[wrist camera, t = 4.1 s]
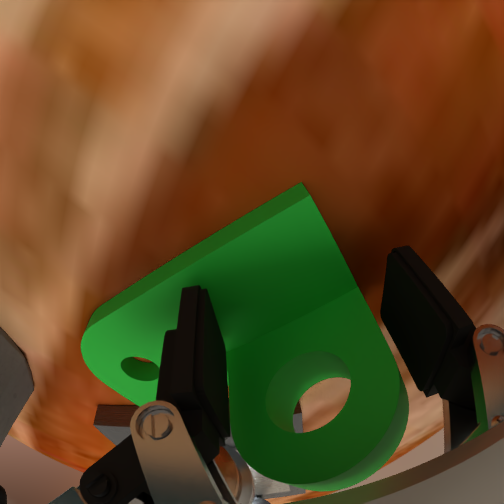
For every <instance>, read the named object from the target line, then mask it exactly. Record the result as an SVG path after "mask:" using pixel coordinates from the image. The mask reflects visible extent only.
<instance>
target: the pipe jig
mask: <svg viewBox="0 0 504 504" xmlns="http://www.w3.org/2000/svg"><path fill="white" fill-rule="evenodd" d="M138 408H140V407H139V406H111V405H98V407H97V411H96V415H95V420H94V424H93V425H94V426H95V427H96V428H97V429H98V430H99V431H100V432H101V433H103V434H104V435H105V436H106V437H107V438H108V439H109V440H111V441H112V442H113V443H114V444H115V445H116V446H117V445H118V444H119V443H120V442H122V441H123V440H124V439H125V438H127V437H128V436H129V435H130V434H131V430H130V423H131V418H132V416H133V415H134V413H135V411H136V410H137V409H138ZM229 417H230V405H229ZM293 427H294V430H295V432H296V433H303V427H302V412H301V407H300V402H299V401H298V402H297V404H296V407H295V409H294V413H293ZM219 452H220V453H219V454H218V455H217V456H216V457H215V458H214V460H215V462H216V464H217V466H218V468H219V470H220V472H221V474H222V476H223V477H224V479H225V481H226V483H227V485H228V487H229V488H230V490H231V492H232V494H233V495H234V497H235V499H236V501H237V502H238V504H270V503H269V502H268V501H266V500H264V499H268V498H277V497H284V496H290V495H297V494H303V493H305V489H302V488H299V487H295V486H292V485H288V484H285V483H281V482H278V481H275V480H272V479H270V478H267V477H265V476H263V475H261V474H260V473H258V472H257V471H255V470H254V469H253V468H251V467H250V466H249V465H248V464H247V463H246V462H245V460H244V459H243V458H242V457H241V455H240V454H239V452H238V450H237V448H236V446H235V443H234V441H233V438H232V433H231V425H230V437H227V438H225V446H221V447H219Z"/></svg>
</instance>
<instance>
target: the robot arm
mask: <svg viewBox="0 0 504 504" xmlns="http://www.w3.org/2000/svg"><path fill="white" fill-rule="evenodd" d="M380 313H381V318H382V321H383V323H384V324H385V326H386V328H387V330H388V332H389V334H390V335H391V337H392V339H393V341H394V343H395V345H396V347H397V349H398V350H399V352H400V354H401V356H402V358H403V360H404V362H405V364H406V366H407V368H408V370H409V372H410V374H411V376H412V378H413V380H414V382H415V384H416V386H417V388H418V389H419V390H420V391H423V392H424V394H425V396H426V398H427V397H429V396H432V395H434V394H437V393H439V395H440V397H441V398H442V401H443V417H444V448H445V449H444V454H443V455H441V456H439V457H437V458H435V459H432V460H430V461H428V462H426V463H423V464H421V465H419V466H416V467H414V468H412V469H409V470H406V471H404V472H401V473H398V474H396V475H393V476H390V477H388V478H385V479H382V480H379V481H376V482H373V483H369V484H367V485H363V486H360V487H357V488H353V489H349V490H345V491H342V492H338V493H334V494H330V495H326V496H321V497H317V498H312V499H307V500H302V501H296V502H291V503H285V504H504V330H503V329H502V328H500V327H498V326H496V325H492V324H485V325H481V326H480V327H478V328H477V329H476V327H475V326H474V325H473V322H472V320H471V319H470V318H469V316H468V315H467V314H466V313H465V311H464V310H463V309H462V307H461V306H460V305H459V304H458V302H457V301H456V300H455V299H454V297H453V296H452V295H451V294H450V292H449V291H448V290H447V289H446V287H445V286H444V285H443V284H442V283H441V281H440V280H439V279H438V278H437V277H436V276H435V274H434V273H433V272H432V271H431V270H430V269H429V267H428V266H427V265H426V264H425V263H424V262H423V261H422V259H421V258H420V257H419V256H418V255H417V254H416V253H415V252H414V250H413V249H412V248H411V247H410V246H402V247H397V248H394V249H392V252H391V253H390V254H388V257H387V266H386V275H385V283H384V290H383V297H382V304H381V312H380ZM130 430H131V434H130V435H129V436H128V437H127V438H125V439H124V440H123V441H122V442H120V443H119V444H118V445H117V446H116V447H114V448H113V449H112V450H111V451H109V452H108V453H107V454H106V455H104V456H103V457H102V458H101V459H99V460H98V461H97V462H96V463H94V464H93V465H92V466H91V467H89V468H88V469H87V470H86V471H85V472H84V473H83V475H82V477H81V479H80V486H78V487H77V488H75V487H71V488H70V489H69V490H67V491H66V492H64V493H63V494H62V495H60V496H59V497H57V498H56V499H54V500H53V501H51V502H50V503H49V504H238V502H237V501H236V499H235V497H234V495H233V494H232V492H231V490H230V488H229V487H228V485H227V483H226V481H225V479H224V477H223V476H222V474H221V472H220V470H219V468H218V466H217V464H216V462H215V460H214V458H215V457H216V456H217V455H218V454H219V453H220V452H219V447H221V446H225V438H227V437H230V417H229V399H228V381H227V360H226V348H225V343H224V340H223V337H222V334H221V331H220V328H219V325H218V322H217V319H216V316H215V312H214V309H213V306H212V303H211V300H210V297H209V293H208V290H207V289H206V288H205V289H201V287H200V285H196V286H190V287H184V288H182V292H181V299H180V306H179V314H178V322H177V329H173V330H167V331H166V332H165V335H164V342H163V348H162V355H161V362H160V370H159V377H158V385H157V393H156V401H152V402H148V403H146V404H144V405H142V406H141V407H140V408H138V409H137V410H136V411H135V413H134V415H133V416H132V418H131V423H130Z"/></svg>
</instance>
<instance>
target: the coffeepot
mask: <svg viewBox="0 0 504 504" xmlns="http://www.w3.org/2000/svg"><path fill="white" fill-rule="evenodd" d="M33 391H34V386H33V380H32V374H31V370H30V367H29V365H28V362H27V361H26V359H25V357H24V356H23V354H22V353H21V351H20V350H19V348H18V347H17V346H16V344H15V343H14V342H13V341H12V340H11V338H10V337H9V336H8V335H7V334H6V333H5V332H4V331H3V330H2V329H1V328H0V447H1V445H2V443H3V441H4V439H5V437H6V436H7V434H8V432H9V430H10V429H11V427H12V425H13V423H14V422H15V420H16V418H17V417H18V415H19V413H20V412H21V410H22V408H23V407H24V405H25V403H26V402H27V400H28V399H29V397H30V395H31V394H32V392H33ZM0 504H7V495H6V492H5V489H4V488H3V487H2V486H0Z"/></svg>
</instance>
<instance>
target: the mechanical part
mask: <svg viewBox="0 0 504 504" xmlns="http://www.w3.org/2000/svg"><path fill="white" fill-rule="evenodd" d="M196 285H200V287H201V289H205V288H206V289H207V290H208V293H209V297H210V300H211V303H212V306H213V309H214V312H215V316H216V319H217V322H218V325H219V328H220V331H221V334H222V337H223V340H224V343H225V348H226V360H227V381H228V385H229V405H230V425H231V433H232V438H233V441H234V443H235V446H236V448H237V450H238V452H239V454H240V455H241V457H242V458H243V459H244V460H245V462H246V463H247V464H248V465H249V466H250V467H251V468H253V469H254V470H255V471H257V472H258V473H260V474H261V475H263V476H265V477H267V478H270V479H272V480H275V481H278V482H281V483H285V484H288V485H292V486H295V487H299V488H302V489H307V490H312V491H334V490H340V489H343V488H347V487H350V486H353V485H355V484H357V483H359V482H361V481H363V480H365V479H366V478H368V477H369V476H371V475H372V474H374V473H375V472H376V471H377V470H379V469H380V468H381V467H382V466H383V465H384V464H385V463H386V462H387V461H388V460H389V458H390V457H391V456H392V455H393V453H394V452H395V450H396V449H397V447H398V445H399V443H400V441H401V439H402V437H403V435H404V432H405V429H406V425H407V421H408V414H409V401H408V395H407V390H406V387H405V385H404V382H403V379H402V377H401V374H400V371H399V369H398V366H397V364H396V361H395V359H394V356H393V354H392V352H391V350H390V348H389V346H388V344H387V342H386V340H385V338H384V336H383V334H382V332H381V330H380V328H379V326H378V324H377V322H376V320H375V318H374V316H373V314H372V312H371V310H370V308H369V306H368V305H367V303H366V301H365V299H364V297H363V295H362V293H361V291H360V290H359V288H358V286H357V284H356V282H355V280H354V277H353V275H352V273H351V271H350V269H349V267H348V265H347V263H346V261H345V259H344V257H343V255H342V254H341V252H340V250H339V248H338V246H337V244H336V242H335V240H334V238H333V236H332V234H331V232H330V230H329V229H328V227H327V225H326V223H325V221H324V219H323V217H322V216H321V214H320V212H319V210H318V208H317V206H316V205H315V203H314V201H313V199H312V197H311V196H310V194H309V193H308V191H307V190H306V188H305V187H304V185H303V184H302V182H301V183H299V184H297V185H295V186H294V187H292V188H290V189H288V190H287V191H285V192H283V193H281V194H280V195H278V196H276V197H275V198H273V199H271V200H269V201H268V202H266V203H264V204H263V205H261V206H259V207H258V208H256V209H254V210H253V211H251V212H249V213H247V214H246V215H244V216H242V217H241V218H239V219H237V220H236V221H234V222H232V223H231V224H229V225H227V226H226V227H224V228H222V229H221V230H219V231H218V232H216V233H214V234H213V235H211V236H209V237H208V238H206V239H204V240H203V241H201V242H200V243H198V244H196V245H195V246H193V247H191V248H190V249H188V250H187V251H185V252H183V253H182V254H180V255H179V256H177V257H175V258H174V259H172V260H171V261H169V262H167V263H166V264H164V265H163V266H161V267H160V268H158V269H156V270H155V271H153V272H152V273H150V274H149V275H147V276H145V277H144V278H142V279H141V280H139V281H138V282H136V283H135V284H133V285H131V286H130V287H128V288H127V289H125V290H124V291H122V292H121V293H119V294H118V295H116V296H115V297H113V298H112V299H110V300H109V301H107V302H106V303H104V304H102V305H101V306H100V307H99V308H97V309H96V310H95V312H94V313H93V314H92V316H91V318H90V320H89V323H88V325H87V327H86V330H85V332H84V335H83V337H82V341H81V352H82V356H83V359H84V361H85V363H86V365H87V366H88V368H89V369H90V370H91V371H92V373H93V374H94V375H95V376H96V377H97V378H99V379H100V380H101V381H102V382H103V383H105V384H106V385H108V386H109V387H110V388H112V389H113V390H115V391H116V392H118V393H119V394H121V395H122V396H124V397H125V398H127V399H128V400H130V401H132V402H133V403H135V404H136V405H138V406H139V407H141V406H142V405H144V404H146V403H148V402H152V401H156V393H157V385H158V377H159V370H160V362H161V355H162V348H163V342H164V335H165V332H166V331H167V330H173V329H177V322H178V314H179V306H180V299H181V292H182V288H184V287H190V286H196ZM133 357H142V358H145V359H148V360H150V361H152V362H153V363H147V362H142V361H139V360H136V359H135V358H133ZM334 377H342V378H347V379H350V380H351V388H350V393H349V397H348V399H347V402H346V403H345V405H344V407H343V408H342V410H341V411H340V412H339V414H338V415H337V416H336V417H335V418H334V419H333V420H332V421H330V422H329V423H328V424H326V425H325V426H323V427H321V428H319V429H316V430H314V431H310V432H305V433H296V432H295V430H294V427H293V413H294V409H295V407H296V404H297V402H298V401H299V399H300V398H301V396H302V395H303V394H304V393H305V392H306V391H307V390H308V389H309V388H310V387H311V386H313V385H314V384H316V383H318V382H320V381H322V380H325V379H328V378H334Z"/></svg>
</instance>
